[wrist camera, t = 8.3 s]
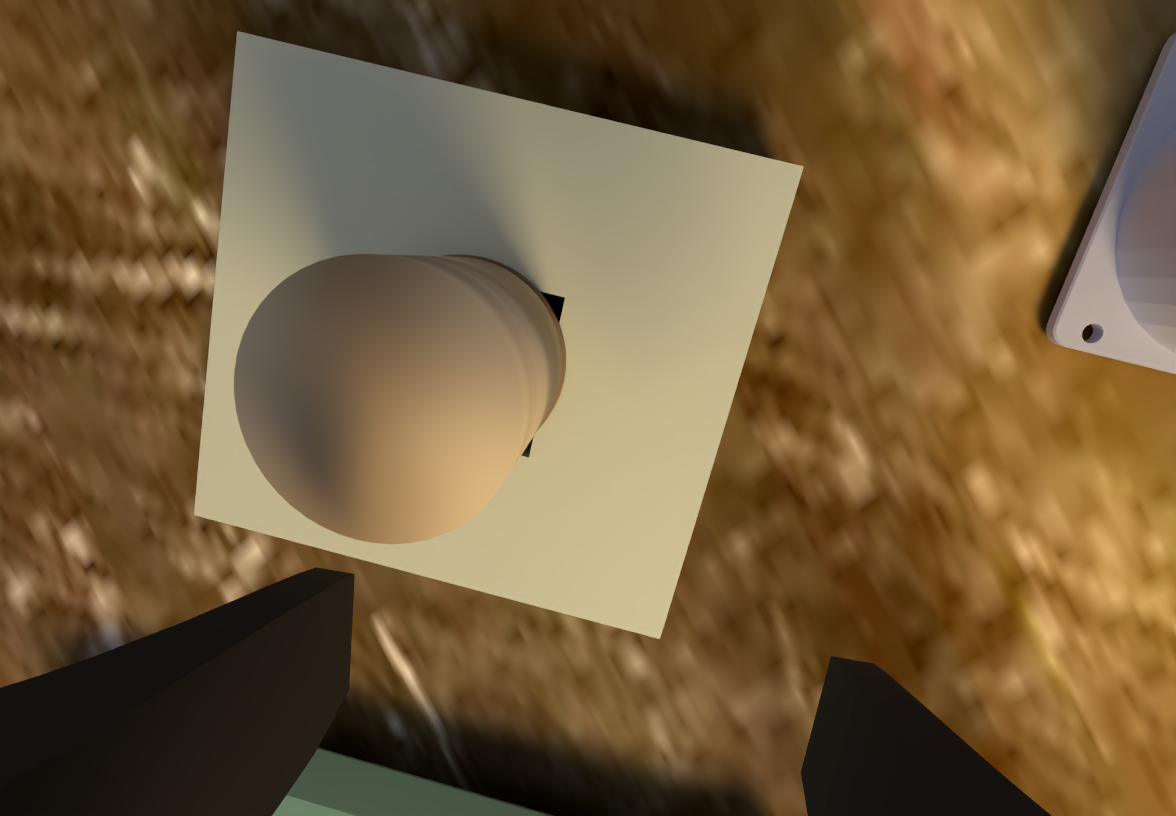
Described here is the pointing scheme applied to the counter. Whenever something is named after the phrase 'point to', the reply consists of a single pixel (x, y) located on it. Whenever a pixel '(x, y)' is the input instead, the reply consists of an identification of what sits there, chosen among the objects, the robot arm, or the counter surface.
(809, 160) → the counter surface
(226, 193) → the board
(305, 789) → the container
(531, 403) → the peg
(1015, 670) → the counter surface
